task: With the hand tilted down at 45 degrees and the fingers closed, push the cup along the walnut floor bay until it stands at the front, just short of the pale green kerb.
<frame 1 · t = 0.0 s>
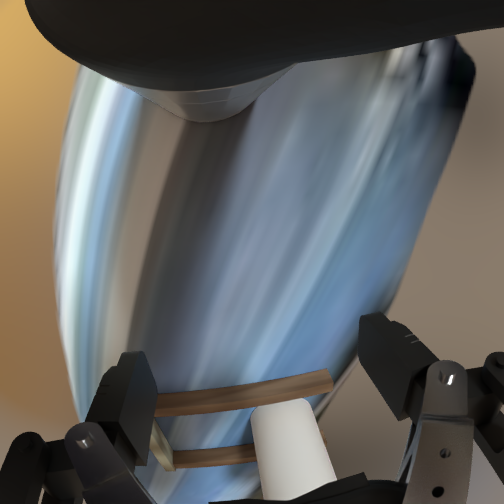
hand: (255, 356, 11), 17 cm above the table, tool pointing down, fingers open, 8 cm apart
cup: (280, 414, 37), on the table
bay: (236, 423, 36), on the table
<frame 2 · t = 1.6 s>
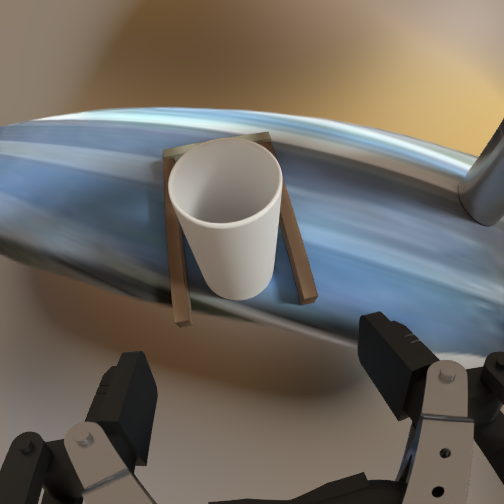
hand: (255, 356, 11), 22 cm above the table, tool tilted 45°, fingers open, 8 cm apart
cup: (238, 267, 36), on the table
bay: (229, 222, 38), on the table
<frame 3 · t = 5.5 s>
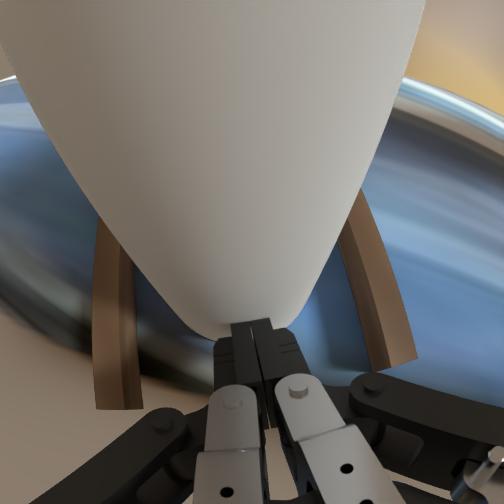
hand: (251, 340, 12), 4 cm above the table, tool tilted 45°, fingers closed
cup: (238, 272, 17), on the table, touching gripper
bay: (227, 198, 19), on the table
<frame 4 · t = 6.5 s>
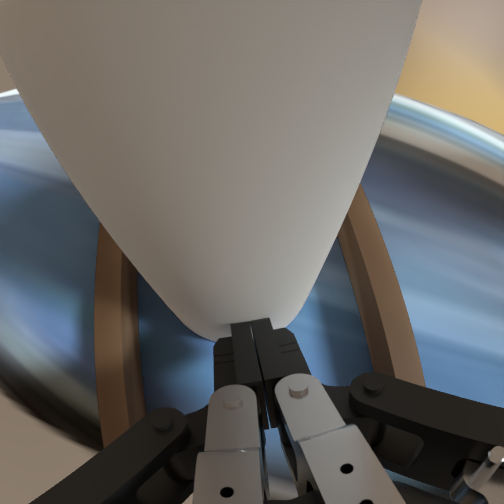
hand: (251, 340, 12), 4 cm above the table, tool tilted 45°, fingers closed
cup: (236, 272, 17), on the table, touching gripper
bay: (242, 282, 17), on the table
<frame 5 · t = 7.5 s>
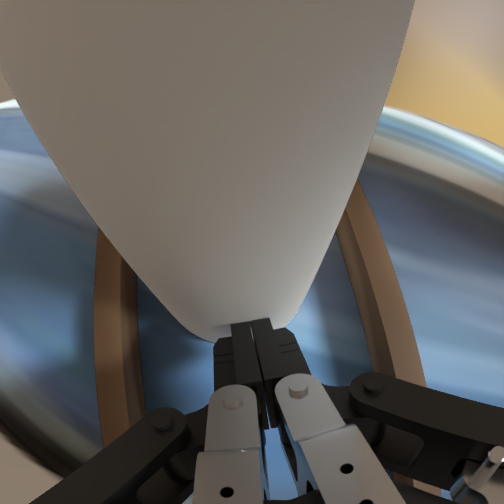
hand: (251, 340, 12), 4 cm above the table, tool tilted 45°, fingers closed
cup: (234, 273, 17), on the table, touching gripper
bay: (251, 339, 15), on the table
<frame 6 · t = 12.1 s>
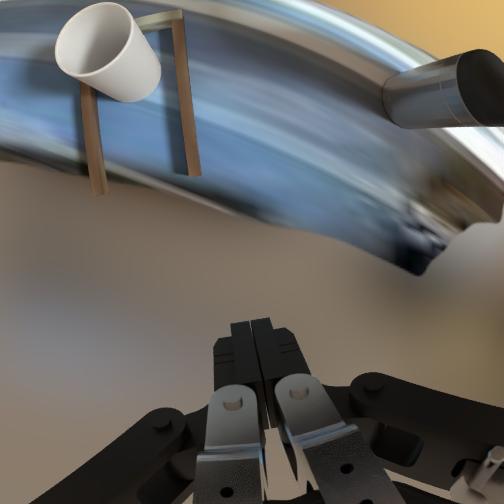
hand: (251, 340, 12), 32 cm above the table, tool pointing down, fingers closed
cup: (133, 75, 35), on the table
bay: (137, 100, 36), on the table
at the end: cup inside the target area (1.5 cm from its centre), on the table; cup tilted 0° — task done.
